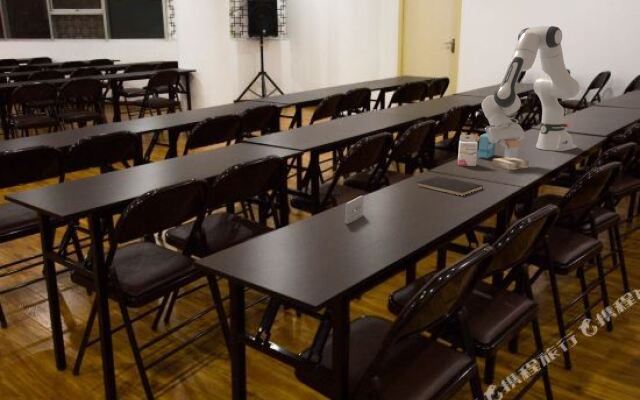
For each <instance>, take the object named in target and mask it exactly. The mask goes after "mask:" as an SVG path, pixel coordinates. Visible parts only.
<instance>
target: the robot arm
mask: <svg viewBox="0 0 640 400" xmlns="http://www.w3.org/2000/svg"><path fill="white" fill-rule="evenodd" d="M562 40H563V32H562V30H561V29H560V27H558V26H555V25H550V26H549V25H547V26H545V25H542V26H541V25H540V26H534V27H527V28H523V29H522V30H520V32H519V33H518V36H517V42H516V45H515V47H514V50H513V54H512V57H511V60H510V63H509V64H508V66H507V70H506V71H505V75H504V77H503V80H502V82H501V84H500V85H499V86H498V88H496V90H495V91H494V94H490V95H487V96H486V97H485V98H484V99H483V100H482V102H481V108H482V111H483V114H484V116H485V118H486V119H487V120H488V123H489V125H486V127H485V128H484V131H485V133H487V136H488V139H489V141H490V142H491V143H495V144H498V143H499V144H500V145H501V146H502V147H503V148H504V150H505V149H508V148H509V145H508V144H506V143H505V140H517V141H519V142H520V141H521V140H523V139H524V138H525V136H526V133H525V132H524V129H523V127H522V126H521V125H520V124H518V123H519V121H518V120H517V119H515V118H511V117H508V116H509V115H512V114H514V113H516V112H518V111H519V110H520V108H521V105H522V101H521V99H520V98H519V96H518V94H517V93H516V84H517V82H518V80H519V77H520V76H521V73H522V72H527V71H528V70H530V69H532V67H533V65H534V63H535V61H536V58H537V55H538V51H539V58H540V65H541V70H542V71H543V73H544V74H546V75H547V76H539V77H537V78H536V79H535V81H534V83H533V91H534V93H535V94H536V95H537V97H538V98H539V101H540V102H541V109H542V110H541V111H542V112H541V113H542V114H541V122H540V125H539V129H540V131H539V132H538V133H539V134H538V138H537V142H536V145H535V148H537V149H538V150H539V149H540V150H544V151H557V152H565V151H568V150H573V149H577V148H578V147H577V145H575V144H573V142H574V141H573V140H574V139H573V137H572V135H571V134H570V133H569V132H568V131H566V128H569V125H570V124H569V123H564V116H565V109H564V107H563V106H562V105H561V104H560V103H559V101H558V100H559V99H561V100H562V99H564V100H567V99H573V98H575V97H577V95H578V94H579V91H580V84H579V82H578V81H577V79H575V78H573V76H571V74H570V73H569V70H568V69H567V68H566V65H565V60H564V54H563V48H562V47H563V46H562V43H561V42H562Z"/></svg>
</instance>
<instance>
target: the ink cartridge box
mask: <svg viewBox="0 0 640 400" xmlns="http://www.w3.org/2000/svg"><path fill="white" fill-rule="evenodd" d="M459 135H460V136H459V141H458V154H457V155H458V156H457V165H458V166H459V167H460V166H461V167H463V166H464V167H467V166H468V167H476V166H477V155H478V147H479V143H478V142H477V135H476V134H475V135H474V134H459Z"/></svg>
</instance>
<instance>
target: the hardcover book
mask: <svg viewBox="0 0 640 400" xmlns="http://www.w3.org/2000/svg"><path fill="white" fill-rule="evenodd" d="M417 183H418V184H417V186H418V187H421V188H426V189H429V190H434V191H439V192H443V193H446V192H447V194H450V195H455V194H456V196H459V195H461V196H460V197H463V195H464V196H466V195H465V194H467V195H469V194H472V193H474V191H475V192H477V191H480V190H483V189H484V186H483V184H480V183H479V184H478V183H474V182H469V181H465V180H461V179H460V180H459V179H455V178H451V177H446V176H443V175H435V176H433V177H429V178H426V179H423V180H419V181H417ZM471 192H472V193H471ZM468 193H469V194H468Z"/></svg>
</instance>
